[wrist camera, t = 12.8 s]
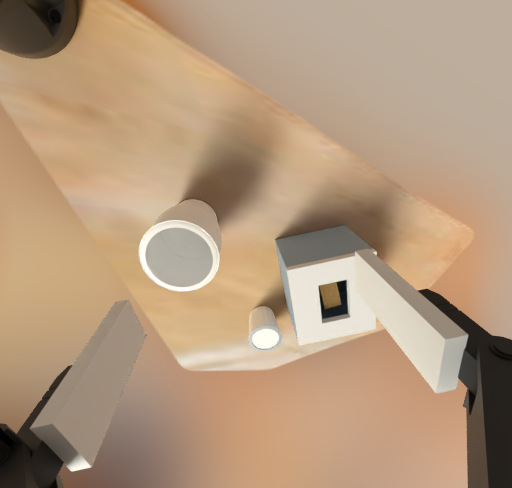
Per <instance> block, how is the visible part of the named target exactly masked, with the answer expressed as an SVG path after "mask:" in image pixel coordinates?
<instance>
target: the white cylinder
mask: <svg viewBox="0 0 512 488" xmlns="http://www.w3.org/2000/svg"><path fill="white" fill-rule="evenodd" d="M281 340H282V335H281V332H280V329H279V327H278V324H277V321H276V318H275V316H274V313H273V311H272V310H271V309H270V308H269V307H266V306H259V307H256V308H255V309H253V310H252V311H251V313H250V316H249V344H250V346H251V347H252V348H253V349H255V350H258V351H270V350H273V349H274V348H276V347H277V346H278V345H279V344H280V343H281Z"/></svg>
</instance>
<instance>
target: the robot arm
mask: <svg viewBox="0 0 512 488" xmlns="http://www.w3.org/2000/svg"><path fill="white" fill-rule="evenodd" d="M77 17H78V0H0V50H3V51H5V52H8V53H11V54H14V55H17V56H20V57H25V58H34V59H37V58H45V57H49V56H52V55H54V54H56V53H57V52H59V51H60V50H62V49H63V48H64V47H65V46H66V45H67V43H68V42H69V41H70V39H71V37H72V35H73V33H74V30H75V27H76V23H77ZM355 272H356V291H357V293H358V294H359V295H360V296H361V298H362V299H363V300H364V302H365V303H366V304H367V305H368V307H369V308H370V309H371V311H372V312H373V313H374V314H375V316H376V317H377V318H378V319H379V321H380V322H381V323H382V325H383V326H384V327H385V328H386V330H387V331H388V332H389V334H390V335H391V336H392V337H393V339H394V340H395V341H396V343H397V344H398V345H399V346H400V348H401V349H402V350H403V352H404V353H405V354H406V355H407V357H408V358H409V359H410V361H411V362H412V363H413V364H414V366H415V367H416V368H417V370H418V371H419V372H420V373H421V375H422V376H423V377H424V378H425V380H426V381H427V382H428V384H429V385H430V386H431V388H432V389H433V390H434V391H435V393H441V392H446V391H450V390H455V389H456V388H457V383H458V379H460V380H461V381H462V382H463V383H464V385H465V386H466V387H467V388H468V389H467V392H466V397H465V400H464V404H463V407H465V408H466V409H467V463H468V488H512V340H510V339H507V338H504V337H499V336H492V335H490V334H489V333H488V332H486V331H485V330H484V329H483V328H481V327H480V326H479V325H478V324H477V323H475V322H474V321H473V320H471V319H470V318H469V317H468V316H466V315H465V314H464V313H462V312H461V311H459V310H458V309H457V308H456V307H455V306H453V305H452V304H450V302H449V301H447V300H446V299H445V298H444V297H442V296H441V295H440V294H437V293H435V292H433V291H431V290H428V289H423V290H419V291H417V290H416V289H415V288H414V287H412V286H411V285H410V284H409V283H408V282H407V281H405V280H404V279H403V278H402V277H401V276H400V275H398V274H397V273H396V272H395V271H394V270H393V269H391V268H390V267H389V266H388V265H387V264H386V263H385V262H383V261H382V260H381V259H380V258H379V257H378V256H376V255H375V254H374V253H373V252H372V251H371V250H369V249H363V250H358V251H355ZM146 336H147V335H146V333H145V331H144V329H143V327H142V325H141V323H140V321H139V319H138V317H137V315H136V313H135V311H134V309H133V307H132V306H131V304H130V301H129V300H124V301H119V302H115V304H114V305H113V306H112V308H111V309H110V311H109V313H108V314H107V315H106V317H105V318H104V320H103V321H102V323H101V324H100V326H99V327H98V329H97V330H96V332H95V333H94V335H93V336H92V337H91V339H90V340H89V342H88V343H87V345H86V346H85V348H84V349H83V351H82V352H81V354H80V355H79V357H78V358H77V359H76V361H75V362H74V364H73V365H71V366H68V367H67V368H66V369H65V370H64V371H63V372H62V373H61V374H60V375H59V376H58V377H57V378H56V379H55V381H54V382H53V384H52V385H51V386H50V388H49V391H47V392H46V393H45V395H44V396H43V398H42V400H41V401H40V402H39V403H38V404H37V406H36V407H35V409H34V410H33V412H32V413H31V414H30V416H29V417H28V419H27V420H26V422H25V423H24V424H23V426H22V427H21V428H20V430H19V432H18V433H17V434H16V433H15V432H14V431H13V430H11V429H10V428H9V427H8V426H7V425H6V424H0V488H63V482H62V479H61V477H60V476H59V475H58V473H59V471H60V469H61V467H62V465H63V463H64V464H65V465H66V466H67V467H68V468H69V469H70V470H71V471H76V470H81V469H85V468H90V467H92V465H93V463H94V460H95V458H96V456H97V453H98V451H99V448H100V446H101V443H102V441H103V439H104V436H105V434H106V432H107V429H108V427H109V424H110V422H111V419H112V417H113V415H114V412H115V410H116V407H117V405H118V403H119V400H120V398H121V396H122V393H123V391H124V388H125V386H126V384H127V381H128V378H129V376H130V374H131V372H132V369H133V367H134V364H135V362H136V360H137V357H138V355H139V352H140V350H141V347H142V345H143V343H144V340H145V338H146Z"/></svg>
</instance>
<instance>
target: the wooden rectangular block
mask: <svg viewBox="0 0 512 488" xmlns="http://www.w3.org/2000/svg"><path fill="white" fill-rule="evenodd" d="M318 287H319V297H320V300H321V302H322V304H323V306H324V308H325V309H328V308H331V307H335V306H338V305H341V301H340V296H339V291H338V287H337V282H334V283H329V284H324V285H319V286H318Z"/></svg>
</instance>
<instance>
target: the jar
mask: <svg viewBox="0 0 512 488" xmlns="http://www.w3.org/2000/svg"><path fill="white" fill-rule="evenodd" d="M221 242H222V240H221V232H220V228H219V225H218V221H217V216H216V214H215V212H214V210H213V209H212V208H211V207H210V206H209V205H208V204H207V203H205V202H203V201H200V200H196V199H189V200H185V201H183V202H181V203H179V204H178V205H176V206H174V207H172V208H170V209H168V210H167V211H165V212H164V213H163V214H162V215H161V216H160V217H159V218H158V219H157V220H156V221H155V223H154V225H153V226H152V227H151V228H150V229H149V230H148V231H147V232H146V233H145V235H144V236H143V238H142V240H141V242H140V245H139V260H140V263H141V266H142V268H143V270H144V272H145V273H146V274H147V276H148V277H149V278H150V279H151V280H152V281H154V282H155V283H156V284H158V285H160V286H161V287H164V288H166V289H169V290H173V291H180V292H186V291H193V290H196V289H199V288H201V287H203V286H205V285H206V284H207V283H209V282H210V281H211V280H212V278H213V277H214V276H215V274H216V272H217V270H218V266H219V261H220V250H221Z"/></svg>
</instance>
